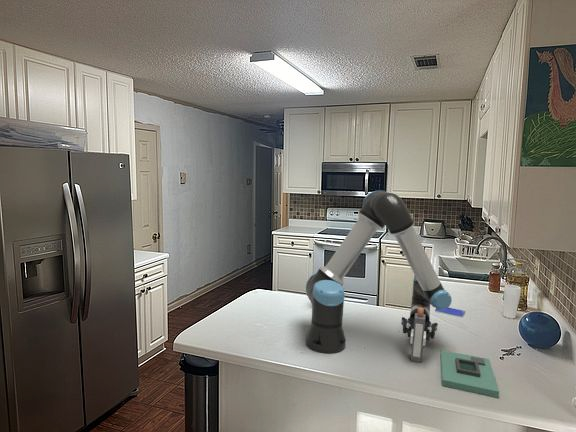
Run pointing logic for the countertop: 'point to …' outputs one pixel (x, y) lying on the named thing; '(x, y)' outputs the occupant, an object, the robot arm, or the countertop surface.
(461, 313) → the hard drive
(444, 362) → the board
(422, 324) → the plug
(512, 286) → the drinking glass
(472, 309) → the countertop surface
